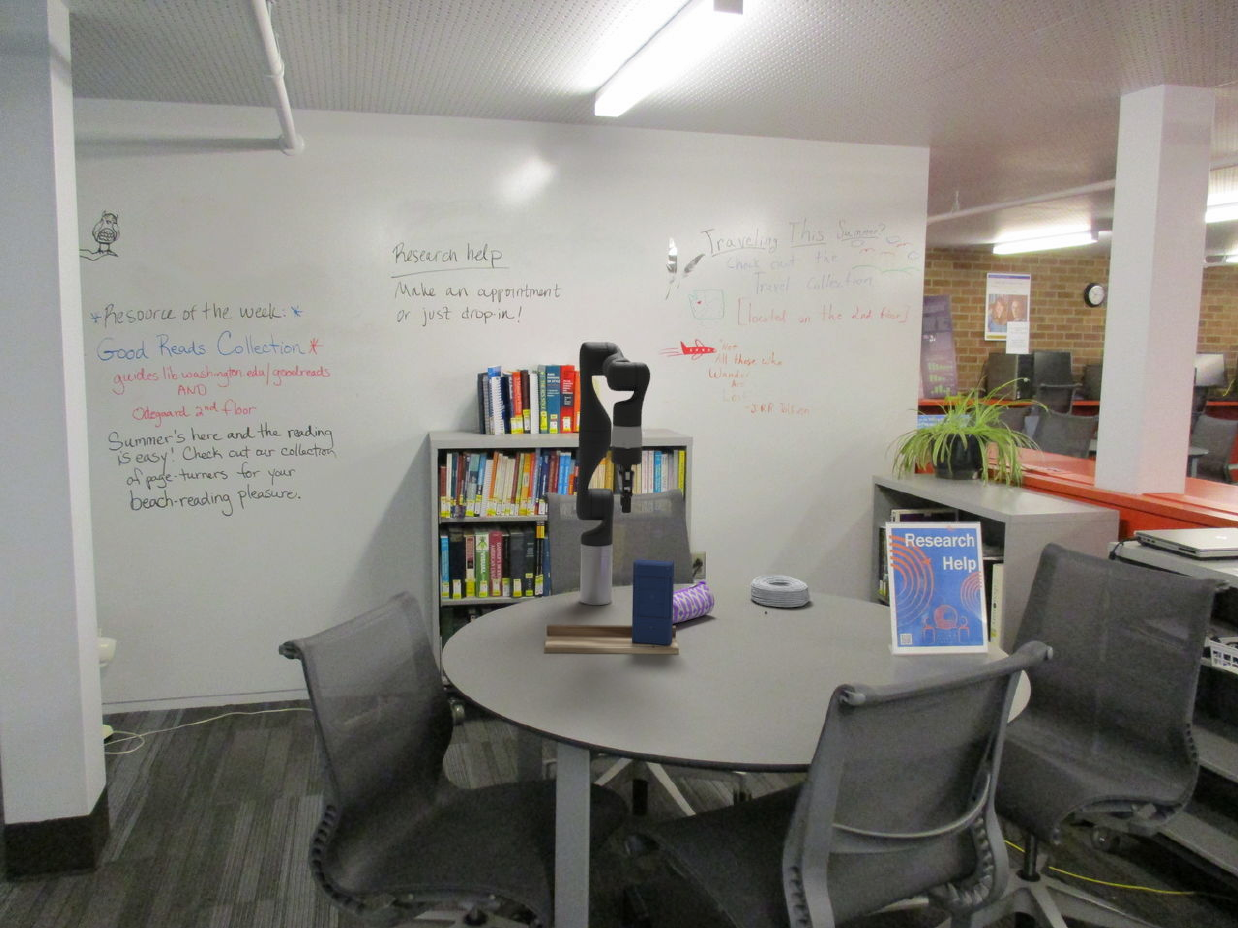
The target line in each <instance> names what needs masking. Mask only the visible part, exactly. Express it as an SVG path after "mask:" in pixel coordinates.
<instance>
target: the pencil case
mask: <svg viewBox="0 0 1238 928" xmlns="http://www.w3.org/2000/svg"><path fill="white" fill-rule="evenodd" d="M714 606H715V597H714V595H713V592H712V591H711V589H710V588H709V587H708V586H707V583H706V581H705V580H699V581H698V582H696V583H695V584H692V585H690V586H688V587H685V588H682V589H678V590H676V591H674V595H673V624H677V623H681V622H685V621H688V620H692V619H695V618H699V617H701V616H706V615H707V614H710V613H711V612H712V611H713V609H714Z"/></svg>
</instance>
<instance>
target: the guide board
mask: <svg viewBox="0 0 1238 928" xmlns="http://www.w3.org/2000/svg"><path fill="white" fill-rule="evenodd" d="M676 626H677V625H673V637H672V643H671V645H670V646H668V645H656V644H644V643H633V642H632V624H631V625H630V624H626V625H624V624H612V625H611V624H608V625H607V624H547V625H546V637H545V638H546V639H545V644H544V653H545V652H564V653H563V654H567V653H566V652H573V653H572V654H642V655H643V654H651V655H652V654H654V655H655V654H656V655H657V654H659V655H660V654H662V655H663V654H665V655H667V654H668V655H672V654H673V655H675V654H676V655H678V654H679V652H680V651H679V650H680V648H679V644H678V640H677V627H676ZM574 652H576V653H574Z"/></svg>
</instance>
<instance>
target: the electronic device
mask: <svg viewBox="0 0 1238 928" xmlns="http://www.w3.org/2000/svg"><path fill="white" fill-rule="evenodd" d="M632 567H633V569H632V611H631V612H632V617H631V619H632V624H631V625H632V642H633V643H644V644H656V645H668V646H670V645H671V643H672V637H673V626H674V625H673V595H674V592H675V591H674V588H675V585H674V583H675V561H673V560H672V561H671V560H657V559H643V558H642V559H641V558H636V559H635V560H634V561H633V565H632Z"/></svg>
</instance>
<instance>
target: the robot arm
mask: <svg viewBox="0 0 1238 928" xmlns="http://www.w3.org/2000/svg"><path fill="white" fill-rule="evenodd" d="M578 356H579V358H578V359H579V362H578V365H579V391H580V394H579V395H580V398H579V399H580V401H579V403H580V404H579V419H578V420H579V422H578V473H577V487H576V488H577V489H576V500H575V501H576V503H575V512H576V515H577V518H578V520H580V521H601V522H600V523H599V525H597V526H596V527H593V528H591V529H589V530H586V531H584V532H582V533H581V536H580V578H579V579H580V590H579V591H580V592H579V593H580V595H579V596H580V597H579V600H580V603H582V604H585V605H589V606H603V605H608V604H610V603H612V600H613V599H612V598H613V596H612V595H613V593H612V592H613V550H614V548H613V539H614V537H613V536H614V533H613V532H614V531H613V529H614V514H615V494H614V492H613V490H612V489H611V488H604V487H603V488H593V487H592V488H589V487H590V483H591V481H592V477H593V476H594V473H595V471H596V469H597V468H598V467H599V465H600V464H601V462H602V461H603V459H604V458H605V457H606V455H607V454H608V453H609V451H610V452H611V453H610V454H611V455H610V457H611V458H610V462H611V463H612V464H613V465H614V464H615V465H619V469H618V470H617V477H618V479H617V480H618V483H617V484H618V486H619V492H620V493H619V494H620V496H619V497H620V498H619V505H620V506H621V513H623V514H630V513H631V512H632V497H633V495H634V493H633V490H634V487H635V485H634V484H635V482H634V481H635V476H636V475H635V471H634V470H633V468H632V467H633V466H636V465H641V464H642V462H643V457H642V456H643V430H642V429H643V428H642V426H643V424H642V422H643V421H642V420H643V415H642V413H643V405H644V401H645V397H646V394H647V390H648V388H649V384H650V381H651V370H650V368H649V366H648V365H647V364H646V363H644V362H638V361H637V362H636V361H635V362H632V361H630V360H629V359H627V358H626V357H625V356H624V354H623V352H622V351H621V349H620V347H619V346H618V345H617V344H616V343H613V342H610V341H609V342H608V341H607V342H604V341H603V342H602V341H601V342H600V341H599V342H597V341H593V342H592V341H589V342H588V341H586V342H583V343H582V344H581V345H580V348H579V355H578ZM598 376H599V377H603V376H604V377H605V379H606V382H607V386H608V388H609V389H610V390H612V391H614V392H633V393H632V395H631V396H630V398H628V399H625V400H624V399H623V400H620V401H616V402H615V403H614V404H613V408H612V420H611V417H610V416H609V414H608V412H607V410H606V408H605V407H604V405H603V404H602V402H601V400H600V399H599V397H598V395H597V393H596V391H595V389H594V383H593V377H598ZM610 449H611V450H610Z"/></svg>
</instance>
